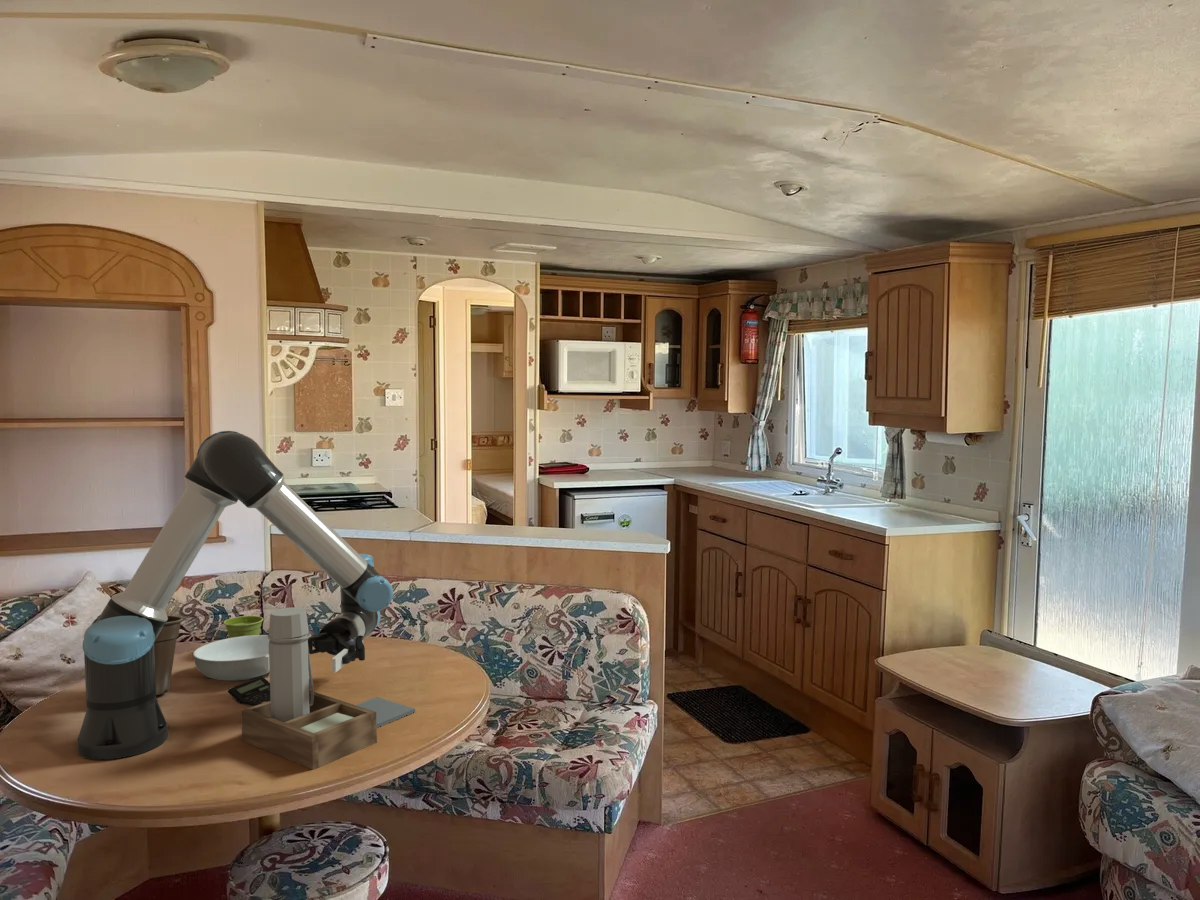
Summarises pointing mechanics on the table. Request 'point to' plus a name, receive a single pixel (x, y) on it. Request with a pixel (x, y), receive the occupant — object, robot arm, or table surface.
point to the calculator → (252, 692)
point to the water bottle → (289, 664)
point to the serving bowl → (233, 658)
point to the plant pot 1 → (165, 653)
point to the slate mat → (386, 710)
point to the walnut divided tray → (305, 744)
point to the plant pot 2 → (243, 626)
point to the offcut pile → (326, 722)
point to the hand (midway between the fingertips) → (299, 664)
